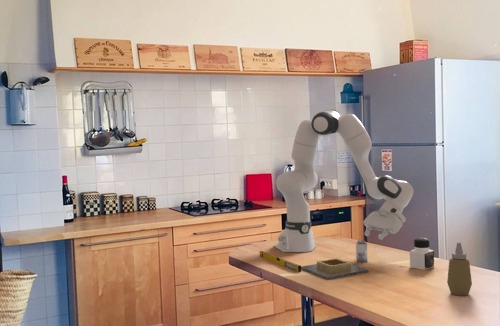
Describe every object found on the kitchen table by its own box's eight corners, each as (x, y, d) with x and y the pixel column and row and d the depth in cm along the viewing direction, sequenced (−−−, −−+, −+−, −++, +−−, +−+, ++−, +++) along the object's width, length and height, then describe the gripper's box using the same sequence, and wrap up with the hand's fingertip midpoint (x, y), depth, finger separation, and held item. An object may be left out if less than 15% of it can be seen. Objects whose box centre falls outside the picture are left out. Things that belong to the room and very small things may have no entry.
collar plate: (300, 268, 237) (300, 260, 237) (339, 262, 246) (339, 254, 246) (327, 279, 219) (327, 270, 219) (368, 272, 228) (368, 263, 228)
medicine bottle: (425, 270, 228) (424, 241, 227) (409, 267, 234) (409, 239, 233) (434, 267, 233) (434, 238, 232) (419, 264, 238) (418, 236, 237)
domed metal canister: (354, 261, 248) (353, 240, 247) (362, 259, 250) (362, 239, 249) (360, 263, 243) (360, 242, 243) (369, 261, 246) (369, 241, 245)
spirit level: (259, 257, 262) (259, 251, 262) (262, 257, 263) (262, 250, 262) (298, 273, 232) (298, 265, 232) (301, 272, 233) (301, 265, 233)
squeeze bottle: (459, 298, 191) (458, 246, 190) (442, 292, 198) (441, 242, 197) (477, 294, 194) (476, 243, 193) (459, 289, 201) (459, 239, 200)
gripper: (370, 205, 261) (354, 229, 257) (400, 211, 242) (383, 236, 239) (378, 214, 263) (362, 237, 259) (409, 220, 245) (391, 245, 241)
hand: (372, 236), depth 249 cm, fingers open, 8 cm apart
